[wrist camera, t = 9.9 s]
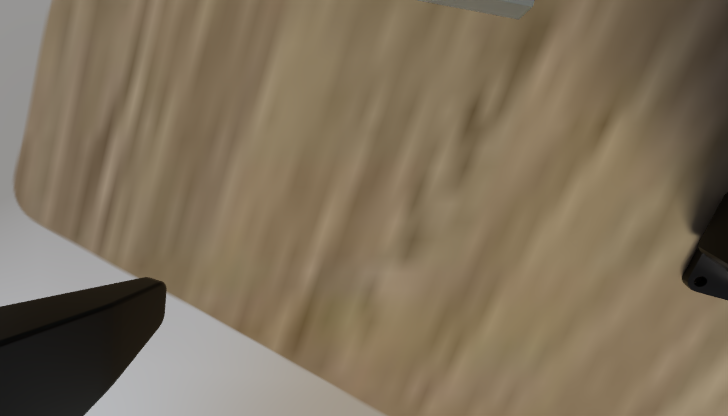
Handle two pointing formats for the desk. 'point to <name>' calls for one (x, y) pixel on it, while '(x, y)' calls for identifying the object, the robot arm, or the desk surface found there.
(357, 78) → the desk surface
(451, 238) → the desk surface
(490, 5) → the grey square tray
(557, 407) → the desk surface
